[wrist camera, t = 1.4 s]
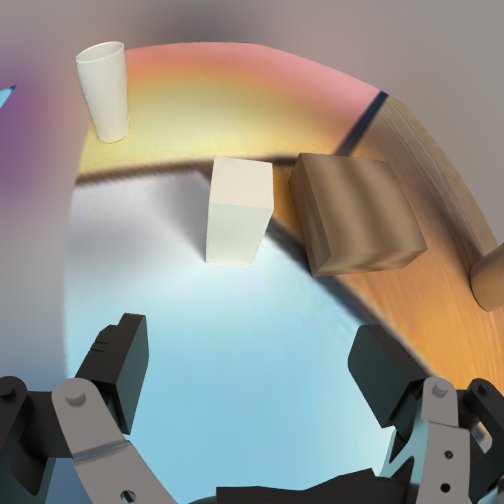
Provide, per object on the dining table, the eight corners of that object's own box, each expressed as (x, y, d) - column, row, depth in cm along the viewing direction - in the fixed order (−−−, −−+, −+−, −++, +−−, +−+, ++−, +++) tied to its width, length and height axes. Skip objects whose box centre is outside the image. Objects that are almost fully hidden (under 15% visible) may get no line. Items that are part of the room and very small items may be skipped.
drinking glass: (115, 116, 40) (104, 39, 27) (143, 128, 39) (135, 43, 26) (86, 140, 37) (65, 60, 24) (113, 153, 36) (94, 64, 23)
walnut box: (370, 187, 42) (388, 162, 36) (401, 269, 35) (427, 248, 30) (287, 183, 39) (299, 152, 33) (311, 278, 33) (331, 255, 27)
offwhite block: (251, 228, 34) (272, 163, 24) (251, 266, 32) (273, 209, 22) (209, 224, 33) (214, 156, 24) (205, 263, 31) (208, 202, 21)
